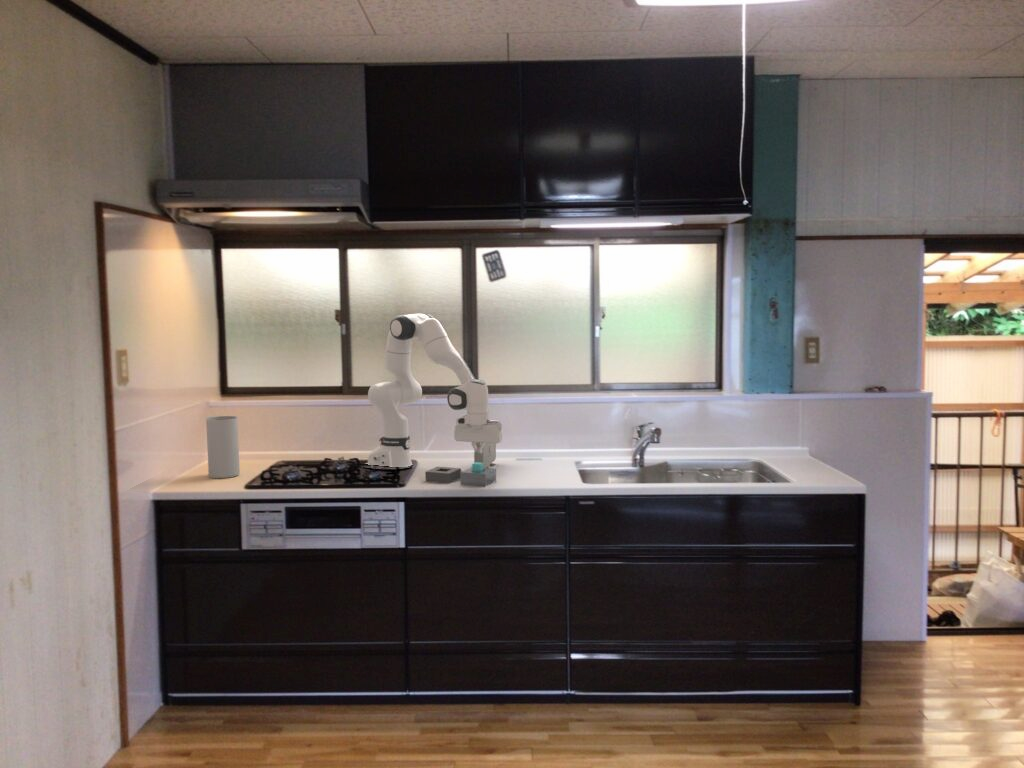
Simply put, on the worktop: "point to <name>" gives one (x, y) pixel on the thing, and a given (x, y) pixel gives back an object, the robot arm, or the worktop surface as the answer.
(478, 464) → the plug
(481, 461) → the network device
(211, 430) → the cylinder vase
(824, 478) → the worktop surface
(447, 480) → the holster
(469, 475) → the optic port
